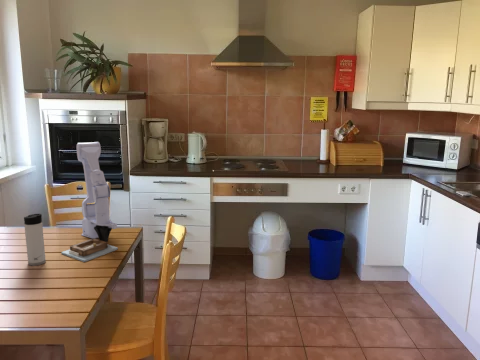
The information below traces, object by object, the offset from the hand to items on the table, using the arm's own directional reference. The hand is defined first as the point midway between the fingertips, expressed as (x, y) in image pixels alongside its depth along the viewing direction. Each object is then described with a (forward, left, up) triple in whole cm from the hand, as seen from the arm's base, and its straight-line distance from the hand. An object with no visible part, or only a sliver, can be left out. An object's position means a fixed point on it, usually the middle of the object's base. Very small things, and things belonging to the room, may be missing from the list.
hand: (104, 241), depth 184 cm
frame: (+1, -8, -1) cm, 8 cm away
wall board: (+1, -8, -2) cm, 8 cm away
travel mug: (-6, -27, -2) cm, 28 cm away
